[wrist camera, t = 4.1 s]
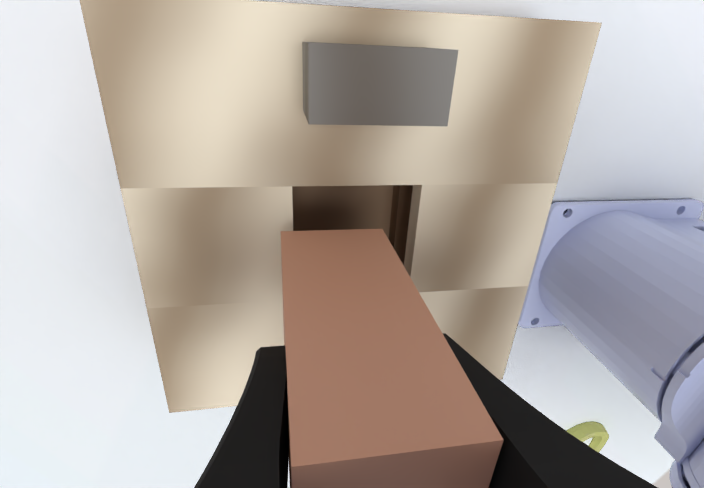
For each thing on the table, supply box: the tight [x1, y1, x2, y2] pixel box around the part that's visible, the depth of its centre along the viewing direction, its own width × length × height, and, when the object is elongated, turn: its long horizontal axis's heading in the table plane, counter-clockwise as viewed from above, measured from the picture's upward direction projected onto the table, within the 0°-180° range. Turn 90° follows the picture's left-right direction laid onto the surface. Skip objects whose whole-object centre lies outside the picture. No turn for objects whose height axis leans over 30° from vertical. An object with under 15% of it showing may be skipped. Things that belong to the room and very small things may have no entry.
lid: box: [80, 0, 602, 413], centre depth 15 cm, size 16×16×4 cm
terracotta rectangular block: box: [281, 229, 503, 488], centre depth 11 cm, size 4×4×8 cm
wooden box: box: [292, 185, 413, 266], centre depth 18 cm, size 16×16×3 cm
